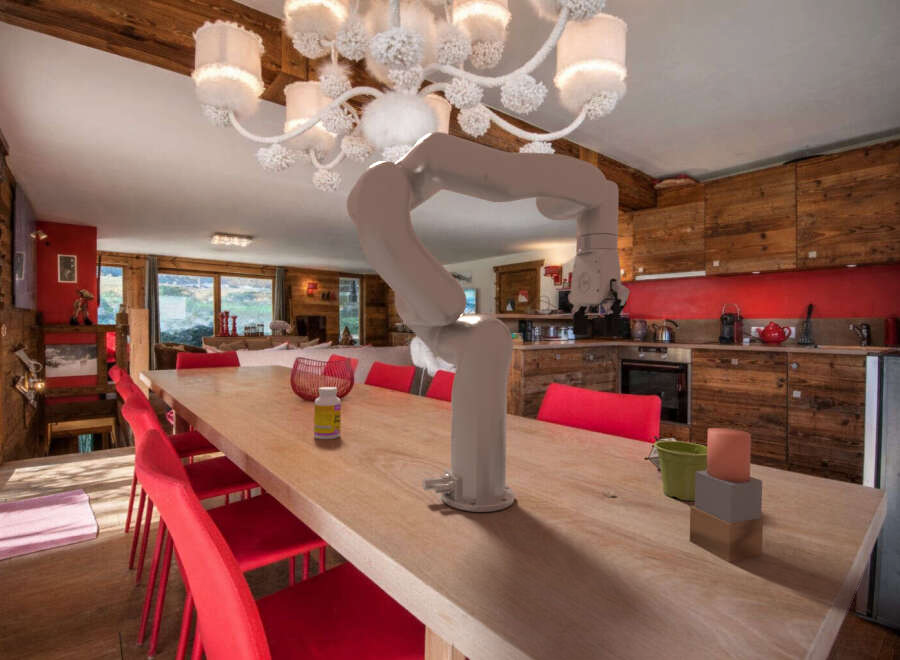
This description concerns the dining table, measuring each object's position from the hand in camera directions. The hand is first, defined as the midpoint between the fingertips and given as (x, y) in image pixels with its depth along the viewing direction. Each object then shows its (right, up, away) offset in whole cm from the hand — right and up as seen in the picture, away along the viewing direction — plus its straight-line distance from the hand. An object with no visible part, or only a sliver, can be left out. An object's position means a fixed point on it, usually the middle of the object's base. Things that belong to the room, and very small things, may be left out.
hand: (595, 335), depth 87 cm
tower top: (+10, -24, -26) cm, 37 cm away
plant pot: (+14, -29, -7) cm, 32 cm away
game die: (+16, -29, +4) cm, 33 cm away
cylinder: (+10, -19, -26) cm, 34 cm away
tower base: (+9, -29, -26) cm, 40 cm away
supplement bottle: (-60, -27, +31) cm, 73 cm away
